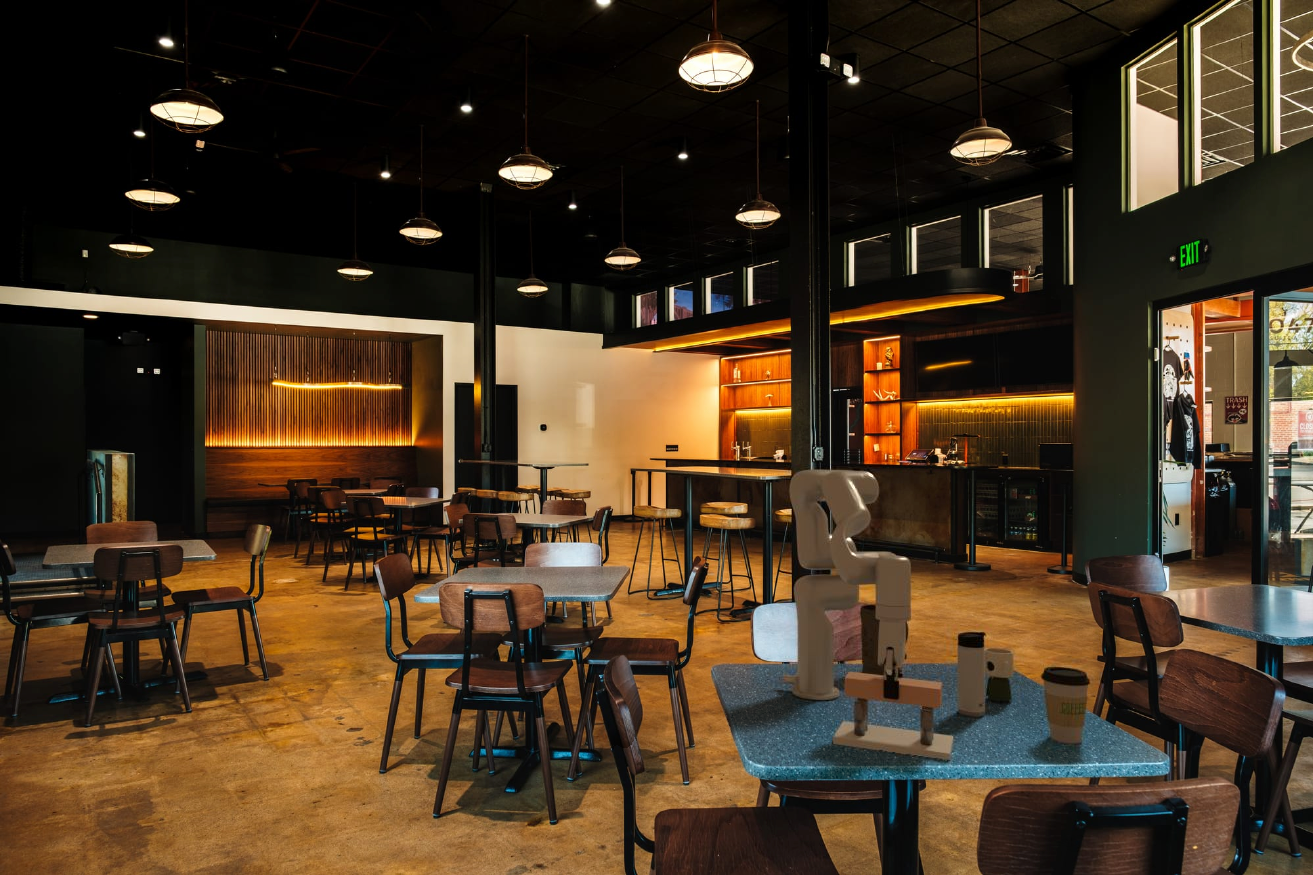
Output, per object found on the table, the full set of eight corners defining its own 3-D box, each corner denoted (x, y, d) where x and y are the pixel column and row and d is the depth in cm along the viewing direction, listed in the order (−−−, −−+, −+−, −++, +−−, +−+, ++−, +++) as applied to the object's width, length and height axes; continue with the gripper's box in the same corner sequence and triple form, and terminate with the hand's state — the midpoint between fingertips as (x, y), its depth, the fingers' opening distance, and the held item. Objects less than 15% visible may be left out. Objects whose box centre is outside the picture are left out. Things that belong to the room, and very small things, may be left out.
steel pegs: (853, 735, 174) (853, 702, 174) (857, 727, 180) (857, 696, 180) (931, 746, 168) (931, 712, 168) (934, 737, 173) (933, 705, 173)
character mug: (977, 694, 213) (976, 645, 213) (1003, 694, 213) (1003, 646, 213) (993, 706, 202) (993, 655, 202) (1021, 707, 202) (1021, 655, 202)
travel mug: (988, 718, 192) (988, 635, 193) (960, 716, 194) (959, 633, 194) (983, 710, 198) (983, 630, 199) (955, 708, 200) (955, 628, 200)
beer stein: (878, 681, 225) (877, 610, 226) (852, 672, 235) (852, 604, 235) (917, 675, 232) (917, 606, 233) (891, 667, 242) (890, 601, 243)
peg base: (833, 743, 173) (833, 736, 173) (843, 727, 184) (843, 721, 184) (950, 760, 163) (949, 753, 163) (953, 742, 174) (953, 735, 174)
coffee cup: (1089, 749, 171) (1088, 679, 172) (1039, 740, 176) (1038, 672, 177) (1092, 736, 179) (1091, 669, 180) (1044, 728, 185) (1043, 663, 185)
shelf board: (844, 695, 175) (844, 677, 176) (849, 689, 181) (849, 671, 181) (940, 708, 167) (940, 689, 167) (942, 700, 173) (942, 682, 173)
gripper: (881, 604, 184) (881, 683, 183) (869, 617, 168) (869, 702, 168) (914, 607, 181) (915, 687, 180) (906, 620, 165) (906, 707, 165)
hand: (893, 693), depth 174 cm, fingers closed on shelf board, 6 cm apart
